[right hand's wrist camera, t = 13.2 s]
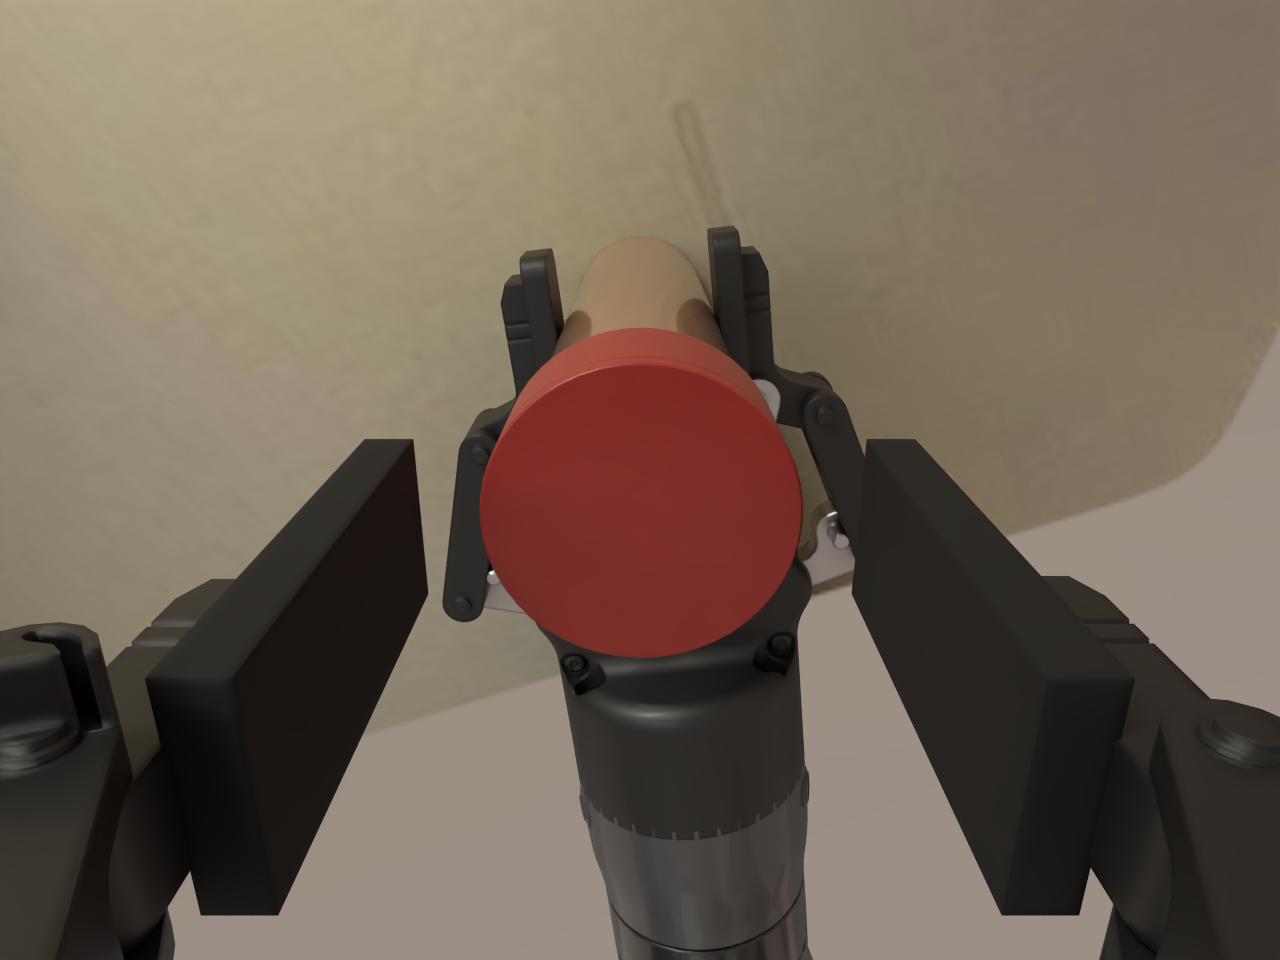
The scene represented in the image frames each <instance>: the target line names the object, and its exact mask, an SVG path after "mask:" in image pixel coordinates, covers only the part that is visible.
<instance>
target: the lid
mask: <svg viewBox="0 0 1280 960" xmlns="http://www.w3.org/2000/svg"><path fill="white" fill-rule="evenodd" d="M480 522H481V530H482V537H483V541H484V544H485V548H486V552H487V555H488V557H489V560H490V562H491V565H492V567H493V569H494V572H495V573H496V575H497V577H498V578H499V580H500V582H501V584H502V585H503V587H504V589H505V590H506V591H507V592H508V594H509V595H510V596H511V598H512V599H513V600H514V601H515V603H516V604H517V605H518V606H519V607H520V608H521V609H522V610H523V611H524V612H525V613H526V614H527V615H528V616H529V617H530V618H532V619H533V620H534V621H536V622H537V623H538V624H539V625H541V626H542V627H543V628H545V629H546V630H548V631H549V632H551V633H553V634H555V635H556V636H558V637H560V638H561V639H563V640H565V641H568V642H570V643H572V644H575V645H577V646H579V647H582V648H585V649H588V650H591V651H595V652H598V653H602V654H608V655H613V656H618V657H631V658H651V657H663V656H669V655H676V654H680V653H684V652H688V651H692V650H695V649H698V648H701V647H703V646H706V645H708V644H711V643H713V642H715V641H717V640H719V639H721V638H723V637H725V636H727V635H728V634H730V633H732V632H733V631H735V630H736V629H738V628H739V627H741V626H742V625H743V624H745V623H746V622H748V621H749V620H750V619H751V618H752V617H753V616H754V615H755V614H756V613H758V612H759V611H760V610H761V609H762V608H763V607H764V605H765V604H766V603H767V602H768V601H769V600H770V598H771V597H772V596H773V595H774V594H775V592H776V591H777V589H778V588H779V586H780V585H781V583H782V582H783V580H784V578H785V577H786V575H787V573H788V570H789V568H790V566H791V564H792V562H793V560H794V557H795V554H796V551H797V547H798V544H799V540H800V535H801V529H802V523H803V499H802V491H801V483H800V480H799V476H798V472H797V468H796V465H795V462H794V460H793V458H792V456H791V453H790V451H789V449H788V446H787V444H786V442H785V440H784V438H783V435H782V433H781V431H780V429H779V427H778V425H777V422H776V420H775V418H774V416H773V414H772V412H771V410H770V407H769V405H768V403H767V401H766V399H765V398H764V396H763V394H762V393H761V391H760V389H759V388H758V386H757V385H756V384H755V382H754V381H753V380H752V379H751V378H750V376H749V375H748V374H747V373H746V371H744V370H743V369H742V368H741V367H740V366H739V365H738V364H737V363H736V362H735V361H734V360H733V359H731V358H730V357H728V356H727V355H726V354H724V353H723V352H721V351H720V350H718V349H717V348H715V347H713V346H711V345H709V344H707V343H706V342H704V341H702V340H699V339H697V338H694V337H691V336H688V335H686V334H683V333H679V332H674V331H670V330H665V329H656V328H625V329H619V330H613V331H607V332H604V333H601V334H597V335H594V336H591V337H588V338H586V339H584V340H581V341H579V342H577V343H575V344H573V345H571V346H569V347H568V348H566V349H565V350H563V351H561V352H560V353H558V354H557V355H555V356H554V357H553V358H552V359H550V360H549V361H548V362H547V363H546V364H545V365H543V366H542V367H541V368H540V369H539V370H538V371H537V373H536V374H535V375H534V376H533V377H532V378H531V379H530V380H529V382H528V383H527V385H526V386H525V388H524V389H523V391H522V392H521V393H520V395H519V397H518V399H517V401H516V403H515V405H514V407H513V409H512V411H511V413H510V415H509V417H508V420H507V422H506V424H505V426H504V428H503V431H502V433H501V435H500V437H499V439H498V441H497V444H496V446H495V448H494V450H493V452H492V455H491V457H490V459H489V462H488V465H487V468H486V471H485V475H484V478H483V484H482V490H481V496H480Z"/></svg>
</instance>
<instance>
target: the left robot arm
mask: <svg viewBox="0 0 1280 960" xmlns="http://www.w3.org/2000/svg"><path fill="white" fill-rule="evenodd" d="M707 234H708V249H709V261H710V273H711V284H712V296H713V308H714V317H715V319H716V322H717V324H718V327H719V329H720V332H721V334H722V337H723V339H724V342H725V345H726V347H727V350H728V352H729V355H730V357H731V359H733V360H734V361H735V362H736V363H737V364H738V365H739V366H740V367H741V368H742V369H743V370H744V371H746V373H747V374H748V375H749V376H750V378H751V379H752V380H753V381H754V382H755V384H756V385H757V386H758V388H759V389H760V391H761V393H762V394H763V396H764V398H765V399H766V401H767V403H768V405H769V407H770V410H771V412H772V414H773V416H774V418H775V420H776V422H777V423H779V424H784V425H788V426H792V427H797V428H801V429H802V431H803V433H804V436H805V439H806V441H807V444H808V446H809V449H810V452H811V454H812V457H813V459H814V462H815V465H816V467H817V470H818V472H819V475H820V478H821V480H822V483H823V485H824V488H825V491H826V493H827V496H828V498H829V501H826V502H824V503H821V504H820V505H818V506H817V507H816V508H815V509H814V511H813V513H812V515H811V526H812V534H811V537H810V539H809V541H808V542H807V543H806V544H805V545H804V546H802V547H800V548H798V549H797V551H796V554H795V557H794V560H793V562H792V564H791V566H790V568H789V570H788V573H787V575H786V577H785V578H784V580H783V582H782V583H781V585H780V586H779V588H778V589H777V591H776V592H775V594H774V595H773V596H772V597H771V598H770V600H769V601H768V602H767V603H766V604H765V605H764V607H763V608H762V609H761V610H760V611H759V612H758V613H756V614H755V615H754V616H753V617H752V618H751V619H750V620H749V621H748V622H746V623H745V624H743V625H742V626H741V627H739V628H738V629H736V630H735V631H733V632H732V633H730V634H728V635H727V636H725V637H723V638H721V639H719V640H717V641H715V642H713V643H711V644H708V645H706V646H703V647H701V648H698V649H695V650H692V651H688V652H684V653H680V654H676V655H669V656H663V657H651V658H631V657H618V656H613V655H608V654H602V653H598V652H595V651H591V650H588V649H585V648H582V647H579V646H577V645H575V644H572V643H570V642H568V641H565V640H563V639H561V638H560V637H558V636H556V635H555V634H553V633H551V632H549V631H548V630H546V629H545V628H543V627H542V626H541V625H539V624H538V623H537V622H536V621H535V622H536V624H537V626H538V627H539V629H540V630H541V631H542V632H543V633H544V635H545V636H546V637H547V638H548V639H549V640H550V642H551V643H552V645H553V646H554V648H555V650H556V653H557V656H558V660H559V665H560V671H561V676H562V682H563V688H564V693H565V699H566V704H567V710H568V715H569V721H570V727H571V732H572V738H573V743H574V749H575V756H576V762H577V767H578V773H579V779H580V784H581V787H580V796H579V797H580V804H581V809H582V813H583V817H584V820H586V822H587V825H588V829H589V833H590V838H591V842H592V846H593V850H594V853H595V856H596V860H597V862H598V865H599V867H600V870H601V873H602V875H603V878H604V881H605V884H606V889H607V896H608V902H609V907H610V913H611V919H612V925H613V930H614V936H615V942H616V947H617V952H618V958H619V960H813V959H812V956H811V954H810V951H809V949H808V945H807V943H808V942H807V941H808V939H807V918H806V901H805V885H804V869H803V867H804V852H805V845H806V835H807V803H808V800H809V773H808V771H807V768H806V766H805V760H804V742H803V725H802V707H801V690H800V673H799V656H798V639H797V630H798V624H799V620H800V617H801V615H802V613H803V611H804V609H805V608H806V606H807V604H808V602H809V600H810V597H811V593H812V587H813V586H816V585H818V584H821V583H824V582H826V581H829V580H832V579H835V578H837V577H840V576H843V575H845V574H848V573H851V572H853V571H854V565H855V555H856V544H857V534H858V524H859V514H860V503H861V493H862V483H863V473H864V462H865V457H864V455H863V452H862V449H861V446H860V444H859V441H858V438H857V435H856V432H855V430H854V427H853V424H852V421H851V419H850V416H849V413H848V410H847V408H846V405H845V404H844V402H843V401H842V400H841V398H840V397H839V396H838V395H837V394H836V393H834V392H833V389H832V387H831V385H830V383H829V382H828V381H827V379H826V378H825V377H824V376H823V375H821V374H819V373H817V372H805V373H802V374H801V373H797V372H793V371H788V370H785V369H782V368H780V367H778V366H777V365H775V364H774V359H773V342H772V326H771V311H770V295H769V277H768V270H767V268H766V266H765V264H764V262H763V259H762V257H761V255H760V253H759V252H758V251H757V250H756V249H755V248H754V247H753V246H748V247H741V245H740V238H739V233H738V230H737V229H736V228H735V227H734V226H727V227H718V228H710V229H708V230H707ZM501 308H502V314H503V319H504V324H505V331H506V336H507V340H508V348H509V353H510V359H511V365H512V370H513V376H514V382H515V387H516V397H515V398H514V399H512V400H511V401H509V402H508V403H506V404H504V405H502V406H500V407H498V408H495V409H494V408H492V409H486V410H484V411H482V412H481V413H480V414H479V415H478V416H477V417H476V419H475V421H474V423H473V424H472V426H471V428H470V430H469V431H468V433H467V435H466V437H465V438H464V440H463V442H462V444H461V446H460V448H459V455H458V464H457V473H456V482H455V491H454V501H453V510H452V519H451V528H450V537H449V547H448V556H447V565H446V574H445V584H444V593H443V608H444V611H445V612H446V614H447V615H448V616H449V617H450V618H452V619H454V620H456V621H459V622H470V621H473V620H475V619H476V618H478V617H479V616H480V614H481V613H482V611H483V608H490V609H496V610H503V611H509V612H516V613H522V614H526V613H525V612H524V611H523V610H522V609H521V608H520V607H519V606H518V605H517V604H516V603H515V601H514V600H513V599H512V598H511V596H510V595H509V594H508V592H507V591H506V590H505V589H504V587H503V585H502V584H501V582H500V580H499V578H498V577H497V575H496V573H495V572H494V569H493V567H492V565H491V562H490V560H489V557H488V555H487V552H486V548H485V544H484V541H483V537H482V530H481V522H480V496H481V490H482V484H483V478H484V475H485V471H486V468H487V465H488V462H489V459H490V457H491V455H492V452H493V450H494V448H495V446H496V444H497V441H498V439H499V437H500V435H501V433H502V431H503V428H504V426H505V424H506V422H507V420H508V417H509V415H510V413H511V411H512V409H513V407H514V405H515V403H516V401H517V399H518V397H519V395H520V393H521V392H522V391H523V389H524V388H525V386H526V385H527V383H528V382H529V380H530V379H531V378H532V377H533V376H534V375H535V374H536V373H537V371H538V370H539V369H540V368H541V367H542V366H543V365H545V364H546V363H547V362H548V361H549V360H550V359H551V358H552V355H553V353H554V350H555V348H556V345H557V343H558V340H559V337H560V335H561V332H562V330H563V327H564V319H563V312H562V305H561V299H560V292H559V286H558V279H557V272H556V266H555V259H554V255H553V251H552V249H551V248H549V249H541V250H533V251H526V252H525V253H524V254H523V255H522V256H521V257H520V274H519V275H512V276H511V277H510V278H509V279H508V281H507V282H506V283H505V286H504V290H503V295H502V300H501Z"/></svg>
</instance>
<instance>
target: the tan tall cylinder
mask: <svg viewBox="0 0 1280 960" xmlns="http://www.w3.org/2000/svg"><path fill="white" fill-rule="evenodd" d="M625 328H656V329H665V330H670V331H674V332H679V333H683V334H686V335H688V336H691V337H694V338H697V339H699V340H702V341H704V342H706V343H707V344H709V345H711V346H713V347H715V348H717V349H718V350H720V351H721V352H723V353H724V354H726V355H727V356H728V357H730V355H729V352H728V350H727V347H726V345H725V342H724V339H723V337H722V334H721V332H720V329H719V327H718V324H717V322H716V319H715V317H714V314H713V312H712V309H711V306H710V304H709V301H708V299H707V296H706V294H705V291H704V289H703V286H702V284H701V281H700V279H699V276H698V274H697V272H696V270H695V268H694V267H693V265H692V263H691V262H690V261H689V260H688V258H687V257H686V256H685V255H684V254H683V253H681V252H680V251H679V250H678V249H676V248H675V247H673V246H671V245H670V244H668V243H665V242H663V241H660V240H657V239H652V238H643V237H640V238H630V239H625V240H622V241H619V242H617V243H614V244H612V245H610V246H609V247H607V248H606V249H604V250H603V251H602V252H601V253H599V254H598V255H597V256H596V257H595V259H594V260H593V261H592V262H591V264H590V265H589V267H588V268H587V270H586V272H585V274H584V276H583V278H582V281H581V284H580V286H579V289H578V291H577V294H576V296H575V299H574V302H573V304H572V307H571V309H570V312H569V314H568V317H567V319H566V322H565V325H564V327H563V330H562V332H561V335H560V337H559V340H558V343H557V345H556V348H555V350H554V353H553V355H552V358H553V357H554V356H555V355H557V354H558V353H560V352H561V351H563V350H565V349H566V348H568V347H569V346H571V345H573V344H575V343H577V342H579V341H581V340H584V339H586V338H588V337H591V336H594V335H597V334H601V333H604V332H607V331H613V330H619V329H625ZM552 358H551V359H552ZM730 358H731V357H730Z"/></svg>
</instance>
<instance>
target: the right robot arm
mask: <svg viewBox="0 0 1280 960" xmlns="http://www.w3.org/2000/svg"><path fill="white" fill-rule="evenodd" d="M852 595H853V598H854V600H855V602H856V604H857V606H858V608H859V611H860V613H861V615H862V617H863V619H864V621H865V623H866V626H867V628H868V630H869V632H870V634H871V636H872V638H873V640H874V643H875V645H876V647H877V649H878V651H879V653H880V655H881V658H882V660H883V662H884V664H885V666H886V668H887V670H888V673H889V675H890V677H891V679H892V681H893V683H894V686H895V688H896V690H897V692H898V694H899V696H900V698H901V701H902V703H903V705H904V707H905V709H906V711H907V713H908V715H909V718H910V720H911V722H912V724H913V726H914V728H915V730H916V733H917V735H918V737H919V739H920V741H921V743H922V745H923V748H924V750H925V752H926V754H927V756H928V758H929V760H930V763H931V765H932V767H933V769H934V771H935V773H936V775H937V778H938V780H939V782H940V784H941V786H942V788H943V790H944V793H945V795H946V797H947V799H948V801H949V803H950V805H951V808H952V810H953V812H954V814H955V816H956V818H957V820H958V823H959V825H960V827H961V829H962V831H963V833H964V835H965V837H966V840H967V842H968V844H969V846H970V848H971V850H972V853H973V855H974V857H975V859H976V861H977V863H978V865H979V868H980V870H981V872H982V874H983V876H984V878H985V880H986V883H987V885H988V887H989V889H990V891H991V893H992V895H993V898H994V900H995V902H996V904H997V906H998V908H999V910H1000V912H1001V915H1079V914H1080V909H1081V905H1082V901H1083V897H1084V893H1085V889H1086V884H1087V880H1088V876H1089V872H1090V867H1091V869H1092V870H1093V872H1094V873H1095V875H1096V877H1097V878H1098V880H1099V882H1100V883H1101V885H1102V886H1103V888H1104V890H1105V891H1106V893H1107V894H1108V896H1109V898H1110V899H1111V901H1112V902H1113V908H1112V912H1111V916H1110V920H1109V924H1108V928H1107V932H1106V936H1105V940H1104V943H1103V947H1102V951H1101V955H1100V959H1099V960H1280V717H1278V716H1276V715H1274V714H1272V713H1269V712H1267V711H1265V710H1262V709H1259V708H1255V707H1252V706H1248V705H1244V704H1240V703H1237V702H1233V701H1229V700H1218V699H1210V698H1209V697H1208V696H1207V695H1206V694H1205V693H1204V692H1203V691H1202V690H1201V689H1200V688H1199V687H1198V686H1197V685H1196V684H1195V683H1194V682H1193V681H1192V680H1191V679H1190V678H1189V677H1188V676H1187V675H1186V674H1185V673H1184V672H1183V671H1182V670H1181V669H1180V668H1178V667H1177V666H1176V665H1175V664H1174V663H1173V662H1172V661H1171V660H1170V659H1169V658H1168V657H1167V656H1166V655H1165V654H1164V653H1163V652H1162V651H1161V650H1160V649H1159V648H1158V647H1157V646H1156V645H1155V644H1149V638H1148V637H1147V636H1146V635H1145V634H1144V633H1143V632H1142V631H1141V630H1140V629H1139V628H1138V627H1137V626H1136V625H1135V624H1129V619H1128V618H1127V617H1126V616H1125V615H1124V614H1123V613H1122V612H1121V611H1120V610H1119V609H1118V608H1117V607H1116V606H1115V605H1114V604H1113V603H1112V602H1111V601H1110V600H1109V599H1108V598H1107V597H1106V596H1105V595H1103V594H1101V593H1099V592H1097V591H1095V590H1093V589H1092V588H1090V587H1088V586H1086V585H1084V584H1082V583H1081V582H1079V581H1077V580H1075V579H1073V578H1071V577H1069V576H1041V575H1040V574H1039V573H1038V572H1037V571H1036V570H1035V569H1034V568H1033V567H1032V566H1031V565H1030V563H1029V562H1028V561H1027V560H1026V559H1025V558H1024V557H1023V556H1022V555H1021V554H1020V553H1019V551H1018V550H1017V549H1016V548H1015V547H1014V546H1013V545H1012V544H1011V543H1010V542H1009V541H1008V540H1007V538H1006V537H1005V536H1004V535H1003V534H1002V533H1001V532H1000V531H999V530H998V529H997V528H996V526H995V525H994V524H993V523H992V522H991V521H990V520H989V519H988V518H987V517H986V516H985V515H984V513H983V512H982V511H981V510H980V509H979V508H978V507H977V506H976V505H975V504H974V503H973V502H972V500H971V499H970V498H969V497H968V496H967V495H966V494H965V493H964V492H963V491H962V490H961V488H960V487H959V486H958V485H957V484H956V483H955V482H954V481H953V480H952V479H951V478H950V477H949V475H948V474H947V473H946V472H945V471H944V470H943V469H942V468H941V467H940V466H939V465H938V463H937V462H936V461H935V460H934V459H933V458H932V457H931V456H930V455H929V454H928V453H927V452H926V450H925V449H924V448H923V447H922V446H921V445H920V444H919V443H918V442H917V441H916V440H915V439H867V442H866V452H865V462H864V473H863V483H862V493H861V503H860V514H859V524H858V534H857V544H856V555H855V565H854V575H853V585H852ZM427 596H428V585H427V575H426V565H425V555H424V544H423V534H422V524H421V514H420V503H419V493H418V483H417V473H416V462H415V452H414V442H413V439H365V440H364V441H363V442H362V443H361V444H360V445H359V446H358V447H357V448H356V449H355V450H354V452H353V453H352V454H351V455H350V456H349V457H348V458H347V459H346V460H345V461H344V462H343V463H342V465H341V466H340V467H339V468H338V469H337V470H336V471H335V472H334V473H333V474H332V475H331V477H330V478H329V479H328V480H327V481H326V482H325V483H324V484H323V485H322V486H321V487H320V488H319V490H318V491H317V492H316V493H315V494H314V495H313V496H312V497H311V498H310V499H309V500H308V502H307V503H306V504H305V505H304V506H303V507H302V508H301V509H300V510H299V511H298V512H297V513H296V515H295V516H294V517H293V518H292V519H291V520H290V521H289V522H288V523H287V524H286V525H285V526H284V528H283V529H282V530H281V531H280V532H279V533H278V534H277V535H276V536H275V537H274V538H273V540H272V541H271V542H270V543H269V544H268V545H267V546H266V547H265V548H264V549H263V550H262V551H261V553H260V554H259V555H258V556H257V557H256V558H255V559H254V560H253V561H252V562H251V563H250V565H249V566H248V567H247V568H246V569H245V570H244V571H243V572H242V573H241V574H240V575H239V576H238V578H237V579H211V580H209V581H207V582H206V583H204V584H202V585H200V586H198V587H196V588H195V589H193V590H191V591H189V592H187V593H185V594H184V595H182V596H180V597H178V598H176V599H175V600H174V601H173V602H172V603H171V604H170V605H169V606H168V607H167V608H166V609H165V610H164V611H163V612H162V613H161V614H160V615H159V616H157V617H156V618H155V619H154V620H153V621H152V626H151V627H146V628H145V629H144V630H143V631H142V632H141V633H140V634H139V635H138V636H137V637H136V638H135V639H134V640H133V641H132V646H131V647H126V648H125V649H124V650H123V651H122V652H121V653H120V654H119V655H118V656H117V657H116V658H115V659H114V660H113V661H112V662H111V663H110V664H109V665H108V666H107V667H106V665H105V661H104V657H103V653H102V649H101V645H100V641H99V637H98V634H97V633H95V632H93V631H92V630H90V629H89V628H87V627H85V626H83V625H76V624H68V623H61V622H59V623H46V624H33V625H26V626H22V627H18V628H13V629H9V630H4V631H0V960H173V956H174V949H175V941H174V935H173V928H172V924H171V920H170V916H169V912H168V908H167V907H168V906H169V904H170V902H171V901H172V899H173V898H174V896H175V894H176V893H177V891H178V889H179V888H180V886H181V885H182V883H183V881H184V880H185V878H186V876H187V875H188V873H189V872H191V876H192V880H193V884H194V888H195V893H196V897H197V901H198V905H199V910H200V914H201V915H279V912H280V910H281V908H282V906H283V904H284V902H285V900H286V898H287V895H288V893H289V891H290V889H291V887H292V885H293V883H294V880H295V878H296V876H297V874H298V872H299V870H300V868H301V865H302V863H303V861H304V859H305V857H306V855H307V853H308V850H309V848H310V846H311V844H312V842H313V840H314V838H315V835H316V833H317V831H318V829H319V827H320V825H321V823H322V820H323V818H324V816H325V814H326V812H327V810H328V808H329V805H330V803H331V801H332V799H333V797H334V795H335V793H336V790H337V788H338V786H339V784H340V782H341V780H342V778H343V775H344V773H345V771H346V769H347V767H348V765H349V763H350V760H351V758H352V756H353V754H354V752H355V750H356V748H357V745H358V743H359V741H360V739H361V737H362V735H363V733H364V730H365V728H366V726H367V724H368V722H369V720H370V718H371V715H372V713H373V711H374V709H375V707H376V705H377V703H378V701H379V698H380V696H381V694H382V692H383V690H384V688H385V686H386V683H387V681H388V679H389V677H390V675H391V673H392V671H393V668H394V666H395V664H396V662H397V660H398V658H399V656H400V653H401V651H402V649H403V647H404V645H405V643H406V641H407V638H408V636H409V634H410V632H411V630H412V628H413V626H414V623H415V621H416V619H417V617H418V615H419V613H420V611H421V608H422V606H423V604H424V602H425V600H426V598H427Z"/></svg>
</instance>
